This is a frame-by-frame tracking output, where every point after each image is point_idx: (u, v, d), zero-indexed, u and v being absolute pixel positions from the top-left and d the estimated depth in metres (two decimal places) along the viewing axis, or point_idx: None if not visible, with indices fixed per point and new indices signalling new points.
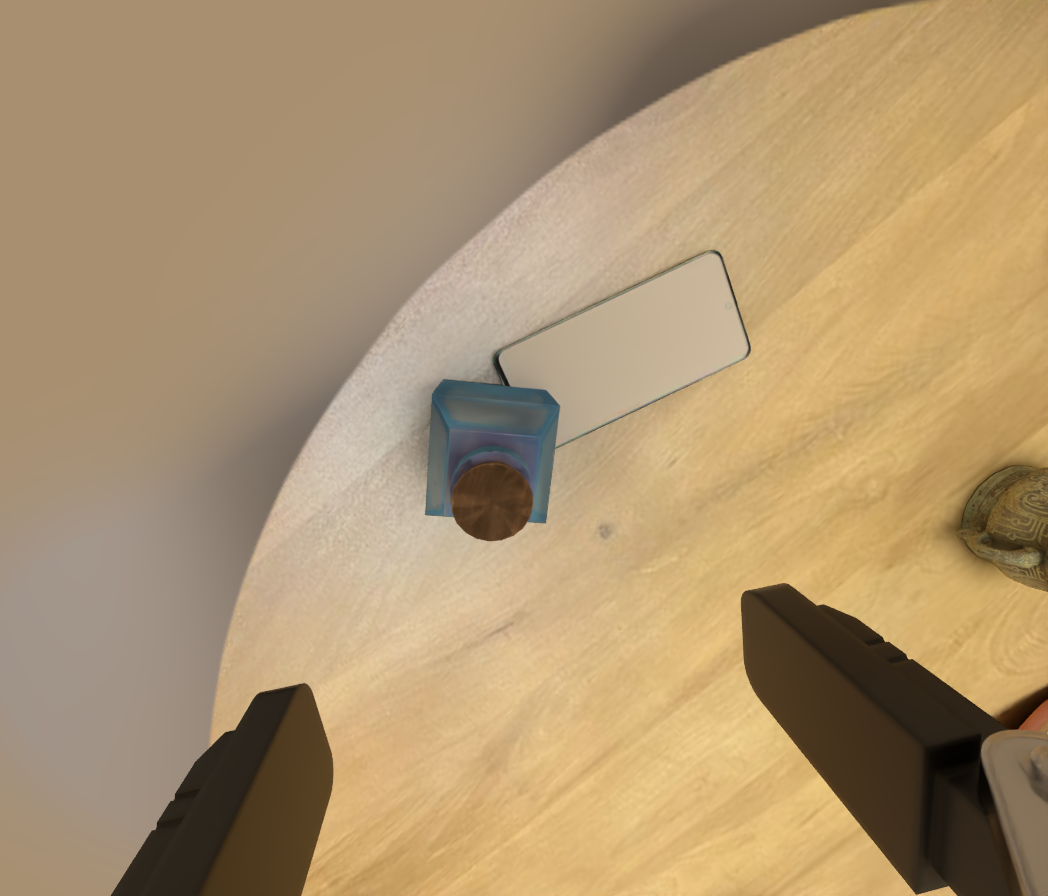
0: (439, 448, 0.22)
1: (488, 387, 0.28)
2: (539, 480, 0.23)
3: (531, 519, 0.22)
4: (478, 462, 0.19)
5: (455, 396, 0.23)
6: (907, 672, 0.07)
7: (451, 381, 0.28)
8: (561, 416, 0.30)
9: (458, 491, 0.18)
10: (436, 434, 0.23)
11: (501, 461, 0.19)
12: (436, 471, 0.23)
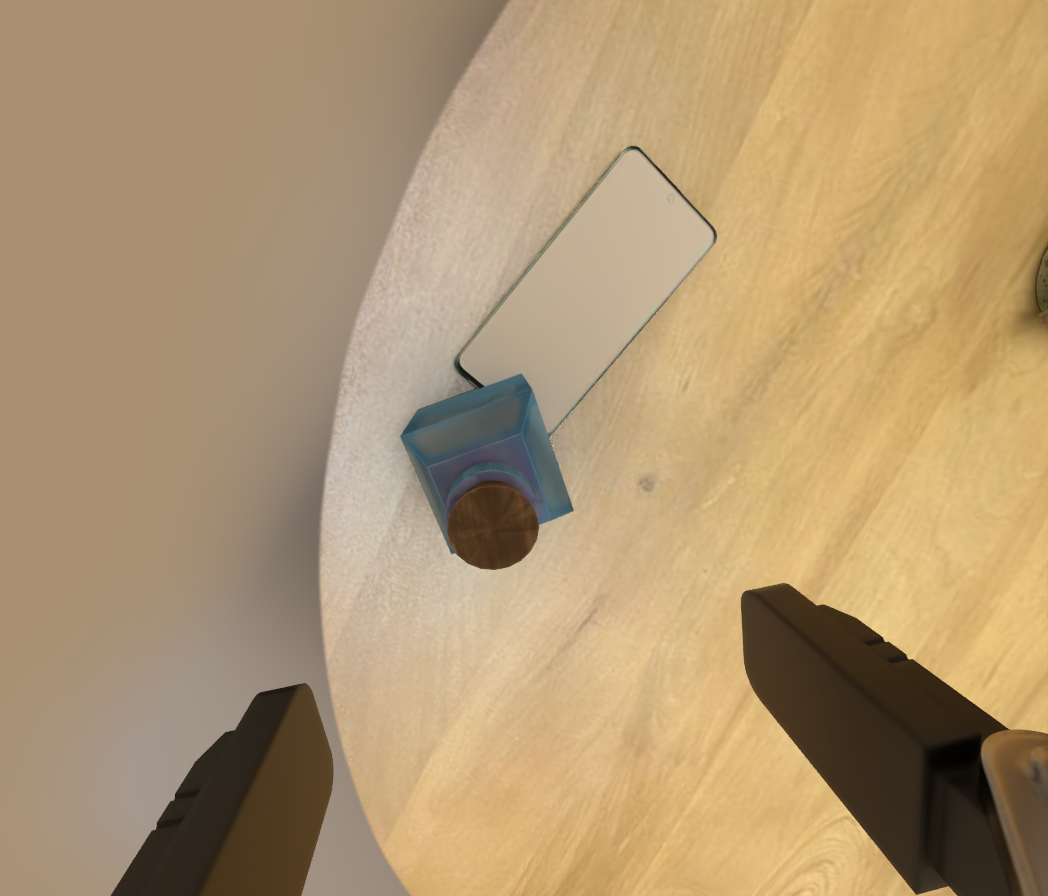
0: (429, 487, 0.21)
1: (461, 398, 0.26)
2: (543, 475, 0.20)
3: (552, 518, 0.20)
4: (463, 491, 0.17)
5: (424, 428, 0.21)
6: (907, 672, 0.07)
7: (425, 408, 0.27)
8: (549, 392, 0.27)
9: (453, 532, 0.17)
10: (421, 474, 0.21)
11: (486, 480, 0.17)
12: (438, 510, 0.21)
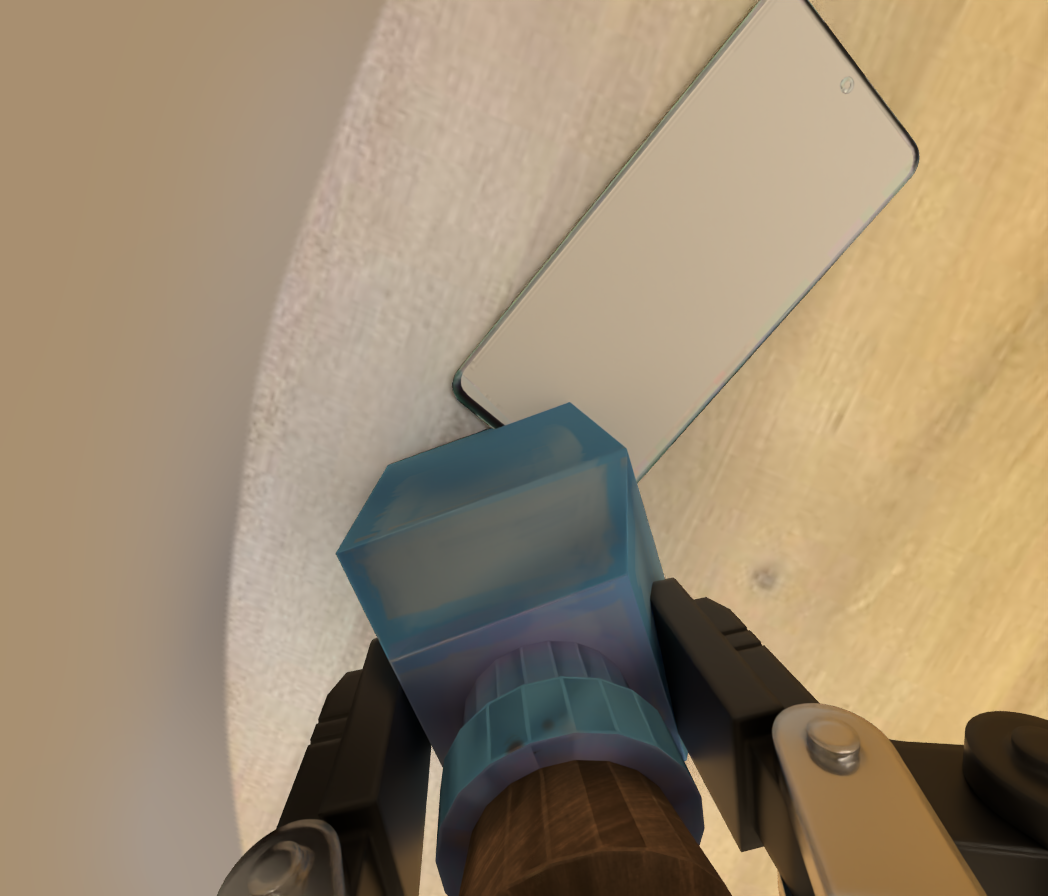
0: None
1: (465, 451, 0.14)
2: None
3: (685, 755, 0.09)
4: (491, 793, 0.06)
5: (388, 535, 0.10)
6: (756, 657, 0.08)
7: (400, 465, 0.15)
8: (616, 434, 0.16)
9: None
10: None
11: (561, 761, 0.06)
12: None
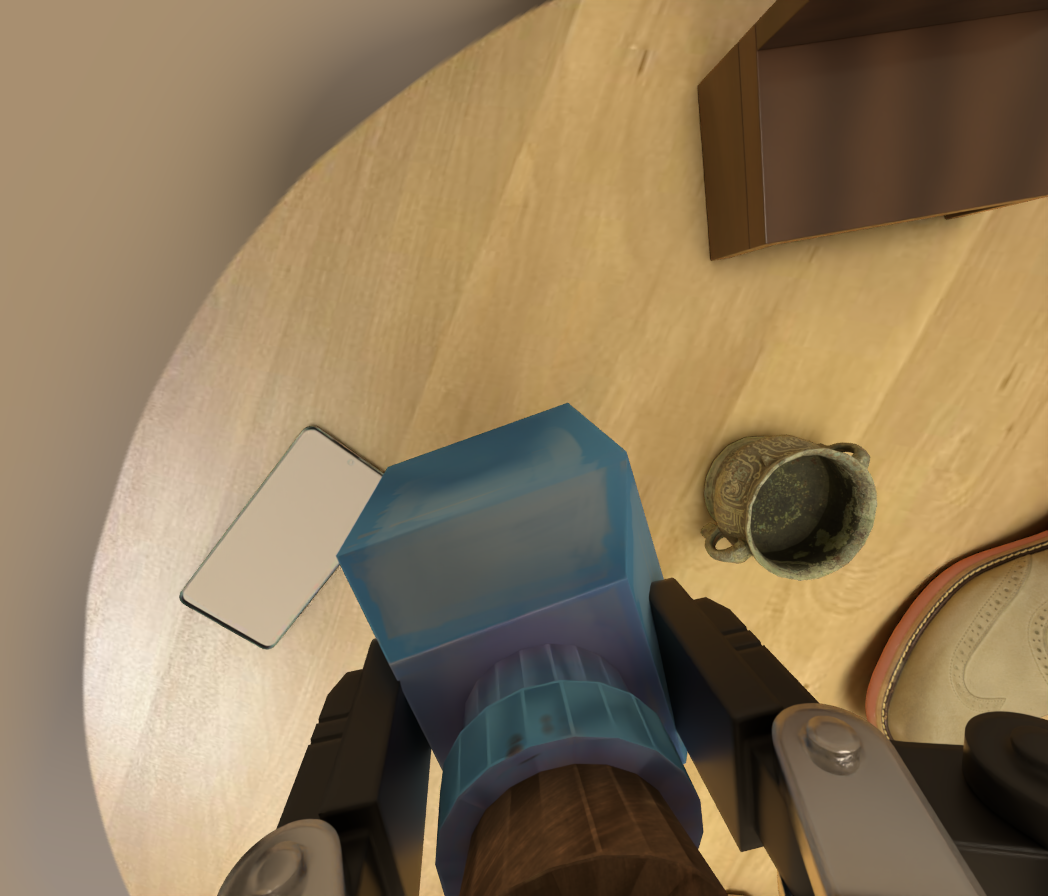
0: None
1: (465, 453, 0.14)
2: None
3: (684, 758, 0.09)
4: (490, 796, 0.06)
5: (388, 538, 0.10)
6: (756, 657, 0.08)
7: (400, 467, 0.15)
8: (267, 614, 0.33)
9: None
10: None
11: (560, 765, 0.06)
12: None
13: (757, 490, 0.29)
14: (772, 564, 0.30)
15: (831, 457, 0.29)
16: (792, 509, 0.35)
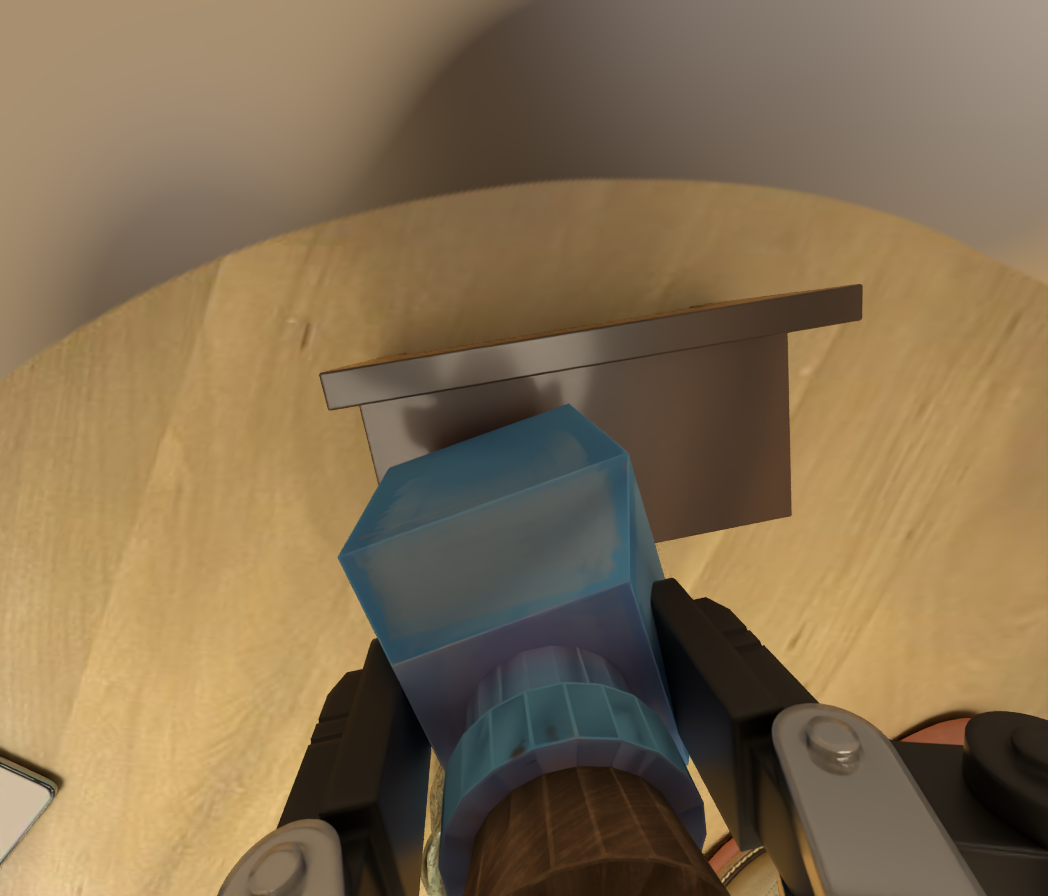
0: None
1: (466, 454, 0.14)
2: None
3: (687, 759, 0.09)
4: (493, 798, 0.06)
5: (390, 539, 0.10)
6: (755, 657, 0.08)
7: (401, 467, 0.15)
8: None
9: None
10: None
11: (564, 767, 0.06)
12: None
13: (435, 840, 0.24)
14: None
15: None
16: None
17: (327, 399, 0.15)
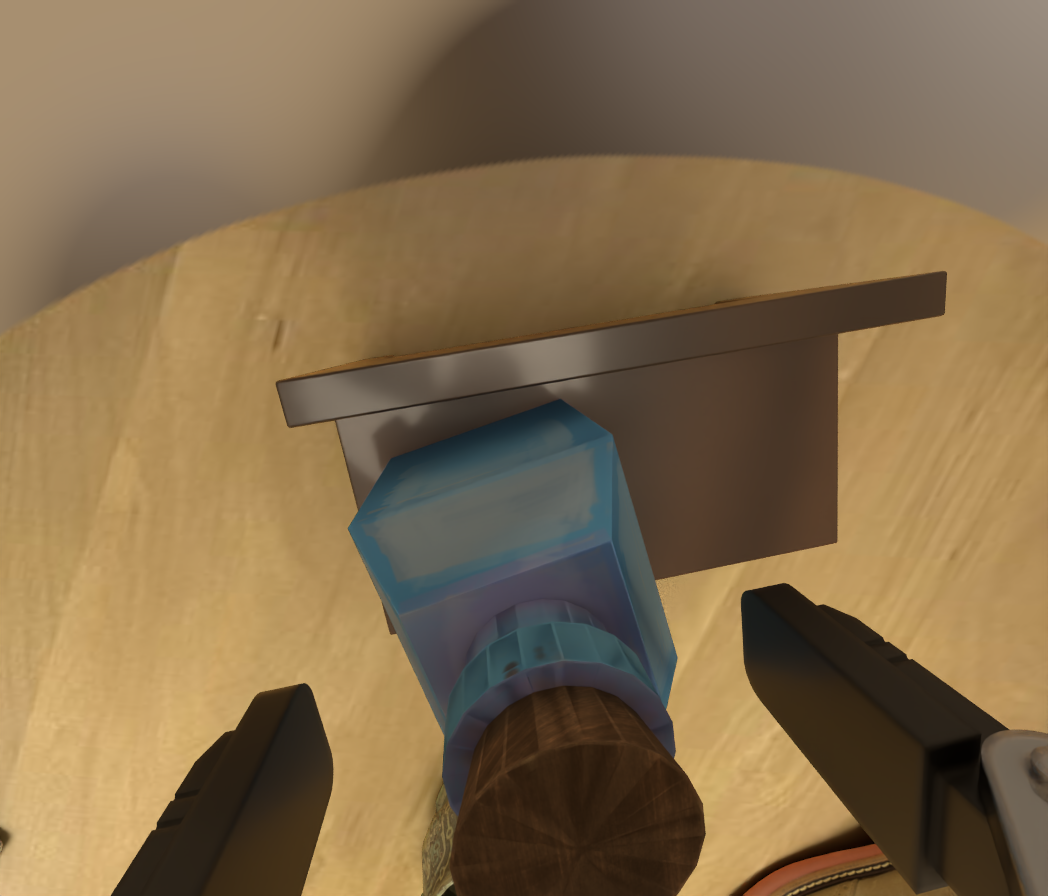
0: (406, 642, 0.10)
1: (464, 443, 0.15)
2: (644, 617, 0.10)
3: None
4: (491, 714, 0.07)
5: (396, 512, 0.11)
6: (907, 672, 0.07)
7: (402, 457, 0.16)
8: None
9: (468, 868, 0.06)
10: (389, 611, 0.10)
11: (551, 686, 0.07)
12: (424, 683, 0.10)
13: None
14: None
15: None
16: None
17: (286, 414, 0.12)
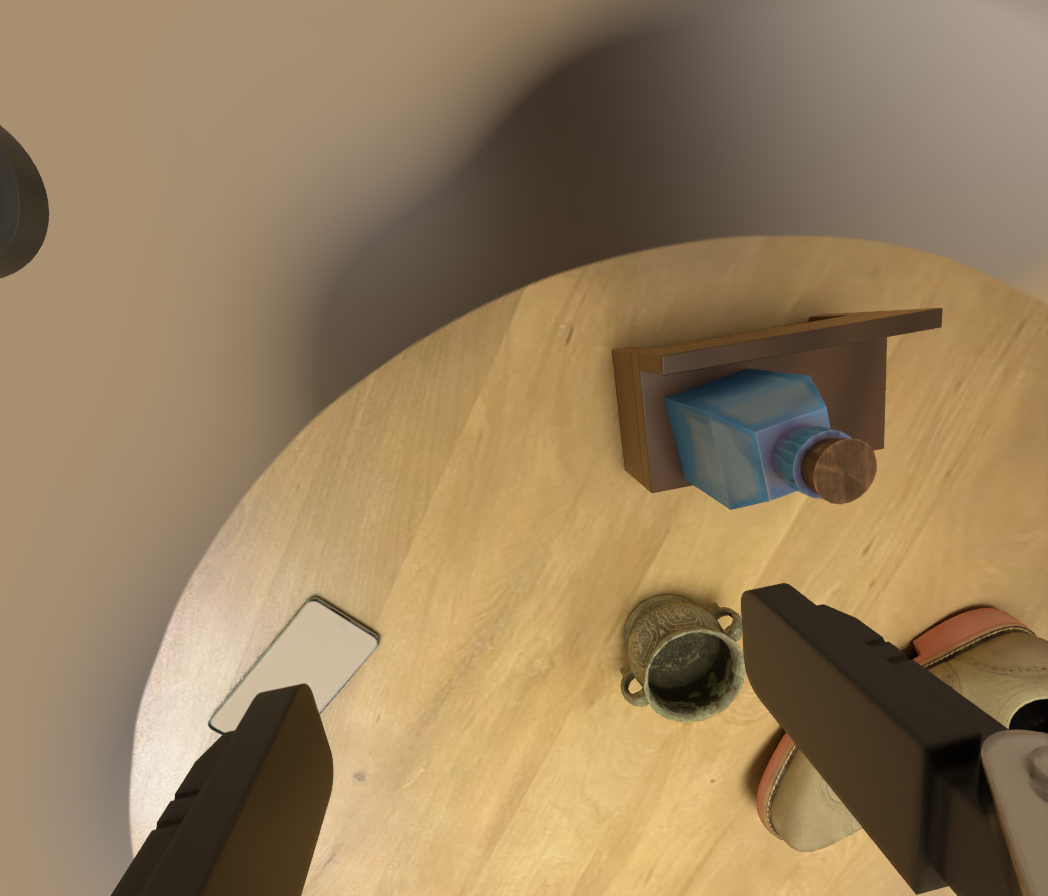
0: (740, 451, 0.26)
1: (713, 387, 0.31)
2: None
3: None
4: (809, 446, 0.23)
5: (726, 405, 0.27)
6: (907, 672, 0.07)
7: (674, 396, 0.33)
8: None
9: (817, 474, 0.22)
10: (729, 441, 0.27)
11: (827, 438, 0.23)
12: (740, 470, 0.27)
13: (651, 660, 0.38)
14: (666, 710, 0.39)
15: (709, 634, 0.38)
16: (693, 652, 0.44)
17: (663, 369, 0.29)
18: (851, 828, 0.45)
